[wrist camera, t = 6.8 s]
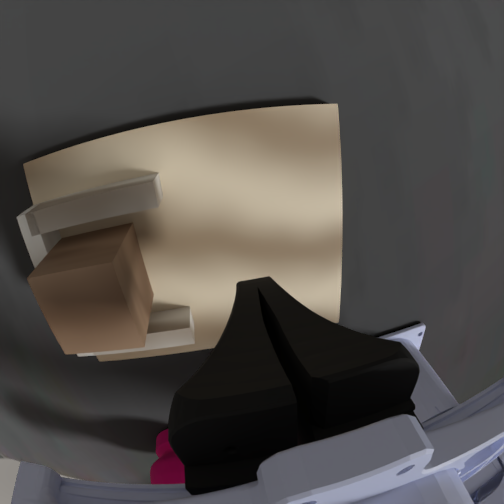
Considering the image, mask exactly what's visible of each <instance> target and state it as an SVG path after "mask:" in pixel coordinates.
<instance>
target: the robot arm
mask: <svg viewBox="0 0 504 504" xmlns="http://www.w3.org/2000/svg"><path fill="white" fill-rule="evenodd" d="M425 328H426V326H425V325H424V324H423V323H420V324H417V325H414V326H411V327H408V328H405V329H402V330H399V331H396V332H393V333H390V334H387V335H384V336H381V337H373V336H369V335H366V334H362V333H359V332H356V331H353V330H350V329H348V328H345V327H343V326H340V325H338V324H336V323H334V322H331V321H329V320H327V319H326V318H324V317H322V316H320V315H318V314H316V313H315V312H313V311H311V310H310V309H309V308H307V307H306V306H304V305H303V304H301V303H300V302H299V301H297V300H296V299H295V298H294V297H292V296H291V295H290V294H289V293H287V292H286V291H285V290H284V289H283V288H282V287H281V286H280V285H279V284H277V283H276V282H275V281H274V280H273V279H272V278H271V277H270V276H267V277H262V278H256V279H251V280H245V281H239V282H238V283H237V284H236V295H235V300H234V304H233V307H232V311H231V314H230V317H229V319H228V322H227V324H226V327H225V329H224V331H223V333H222V335H221V337H220V339H219V341H218V343H217V344H216V346H215V348H214V349H213V351H212V352H211V354H210V355H209V357H208V358H207V360H206V361H205V362H204V363H203V365H202V366H201V367H200V368H199V370H198V371H197V372H196V373H195V374H194V375H193V377H192V378H191V379H190V380H189V381H188V382H186V383H185V384H184V385H183V386H182V387H181V388H180V389H179V390H178V391H177V392H176V393H175V395H174V398H173V401H172V405H171V410H170V415H169V422H168V441H169V444H170V446H171V448H172V449H173V451H174V452H175V454H176V455H177V457H178V458H179V459H180V461H181V462H182V463H183V465H184V472H185V483H184V484H120V483H105V482H94V481H85V480H77V479H70V478H63V477H61V476H60V475H59V474H58V473H57V472H56V471H54V470H53V469H51V468H49V467H47V466H45V465H41V464H35V463H30V462H26V461H21V462H20V466H19V470H18V474H17V478H16V482H15V487H14V491H13V496H12V502H11V504H504V377H503V378H502V379H500V380H499V381H497V382H496V383H494V384H493V385H491V386H490V387H488V388H486V389H485V390H483V391H482V392H480V393H478V394H477V395H475V396H473V397H472V398H470V399H468V400H467V401H465V402H463V403H461V404H458V402H457V401H456V400H455V398H454V397H453V395H452V394H451V393H450V391H449V390H448V389H447V387H446V386H445V385H444V383H443V382H442V380H441V379H440V378H439V376H438V375H437V374H436V372H435V371H434V370H433V368H432V367H431V366H430V364H429V363H428V362H427V361H426V359H425V358H424V357H423V355H422V354H421V353H420V351H419V348H420V345H421V342H422V338H423V335H424V331H425Z"/></svg>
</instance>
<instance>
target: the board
mask: <svg viewBox="0 0 504 504" xmlns="http://www.w3.org/2000/svg"><path fill="white" fill-rule="evenodd" d="M23 166H24V170H25V175H26V179H27V183H28V187H29V191H30V194H31V198H32V202H33V206H31V207H30V208H28V209H27V210H26V211H24V212H23V213H21V214H20V215H19V216H17V220H18V224H19V227H20V230H21V233H22V236H23V238H24V241H25V244H26V247H27V250H28V252H29V255H30V257H31V260H32V263H33V265H34V268H36V267H37V265H38V264H39V263H40V262H41V261H42V260H43V258H44V257H45V256H46V255H47V254H48V253H49V252H50V250H51V249H52V248H53V247H54V246H55V245H56V244H57V243H58V241H59V240H60V239H61V238H64V237H69V236H73V235H77V234H82V233H86V232H91V231H95V230H100V229H104V228H109V227H114V226H119V225H123V224H128V223H133V224H134V228H135V232H136V236H137V239H138V243H139V247H140V250H141V254H142V257H143V261H144V264H145V267H146V271H147V274H148V277H149V281H150V284H151V287H152V290H153V293H154V297H153V302H152V307H151V313H150V318H149V324H148V330H147V335H146V342H145V347H142V348H133V349H124V350H114V351H104V352H93V353H80V354H77V355H78V357H81V356H94V355H96V356H97V358H98V360H99V362H101V361H113V360H124V359H134V358H143V357H152V356H160V355H168V354H176V353H183V352H190V351H197V350H203V349H210V348H215V346H216V344H217V343H218V341H219V339H220V337H221V335H222V333H223V331H224V329H225V327H226V324H227V322H228V319H229V317H230V314H231V311H232V307H233V304H234V300H235V295H236V284H237V283H238V282H239V281H245V280H251V279H256V278H262V277H267V276H270V277H271V278H272V279H273V280H274V281H275V282H276V283H277V284H279V285H280V286H281V287H282V288H283V289H284V290H285V291H286V292H287V293H289V294H290V295H291V296H292V297H294V298H295V299H296V300H297V301H299V302H300V303H301V304H303V305H304V306H306V307H307V308H309V309H310V310H311V311H313V312H315V313H316V314H318V315H320V316H322V317H324V318H326V319H327V320H329V321H331V322H334V323H337V322H339V312H340V294H341V270H342V170H341V147H340V130H339V115H338V104H311V105H293V106H279V107H267V108H257V109H247V110H239V111H231V112H224V113H217V114H210V115H203V116H197V117H191V118H186V119H180V120H175V121H170V122H165V123H160V124H155V125H151V126H146V127H142V128H137V129H133V130H129V131H125V132H121V133H117V134H113V135H110V136H106V137H102V138H99V139H95V140H92V141H88V142H85V143H82V144H79V145H75V146H72V147H69V148H66V149H63V150H60V151H57V152H54V153H51V154H48V155H46V156H43V157H40V158H37V159H35V160H32V161H29V162H27V163H24V164H23Z"/></svg>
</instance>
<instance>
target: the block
mask: <svg viewBox="0 0 504 504" xmlns="http://www.w3.org/2000/svg"><path fill="white" fill-rule="evenodd" d="M27 280H28V282H29V285H30V287H31V289H32V291H33V294H34V296H35V298H36V300H37V302H38V304H39V306H40V308H41V310H42V312H43V314H44V316H45V318H46V320H47V322H48V324H49V326H50V328H51V330H52V332H53V333H54V335H55V337H56V339H57V341H58V342H59V344H60V346H61V348H62V349H63V351H64V353H65V354H80V353H93V352H104V351H114V350H124V349H133V348H142V347H145V342H146V335H147V330H148V324H149V318H150V313H151V307H152V302H153V297H154V293H153V290H152V287H151V284H150V281H149V277H148V274H147V271H146V267H145V264H144V261H143V257H142V254H141V250H140V247H139V243H138V239H137V236H136V232H135V228H134V224H133V223H128V224H123V225H119V226H114V227H109V228H104V229H100V230H95V231H91V232H86V233H82V234H77V235H73V236H69V237H64V238H61V239H60V240H59V241H58V243H57V244H56V245H55V246H54V247H53V248H52V249H51V250H50V252H49V253H48V254H47V255H46V256H45V257H44V258H43V260H42V261H41V262H40V263H39V264H38V265H37V267H36V268H35V269H34V270H33V271H32V273H31V274H30V275H29V276H28V278H27Z"/></svg>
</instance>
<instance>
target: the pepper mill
mask: <svg viewBox="0 0 504 504" xmlns="http://www.w3.org/2000/svg"><path fill="white" fill-rule="evenodd" d="M156 454H157V456H158V457H159V459H158V460H156V462H155V463H154V464H153V465H152V467H151V470H150V477H151V484H184V483H185V472H184V465H183V463H182V462H181V461H180V459H179V458H178V457H177V455H176V454H175V452H174V451H173V449H172V448H171V446H170V444H169V441H168V429H166V430H163V431H162V432H160V433H159V434H158V436H157V438H156Z"/></svg>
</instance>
